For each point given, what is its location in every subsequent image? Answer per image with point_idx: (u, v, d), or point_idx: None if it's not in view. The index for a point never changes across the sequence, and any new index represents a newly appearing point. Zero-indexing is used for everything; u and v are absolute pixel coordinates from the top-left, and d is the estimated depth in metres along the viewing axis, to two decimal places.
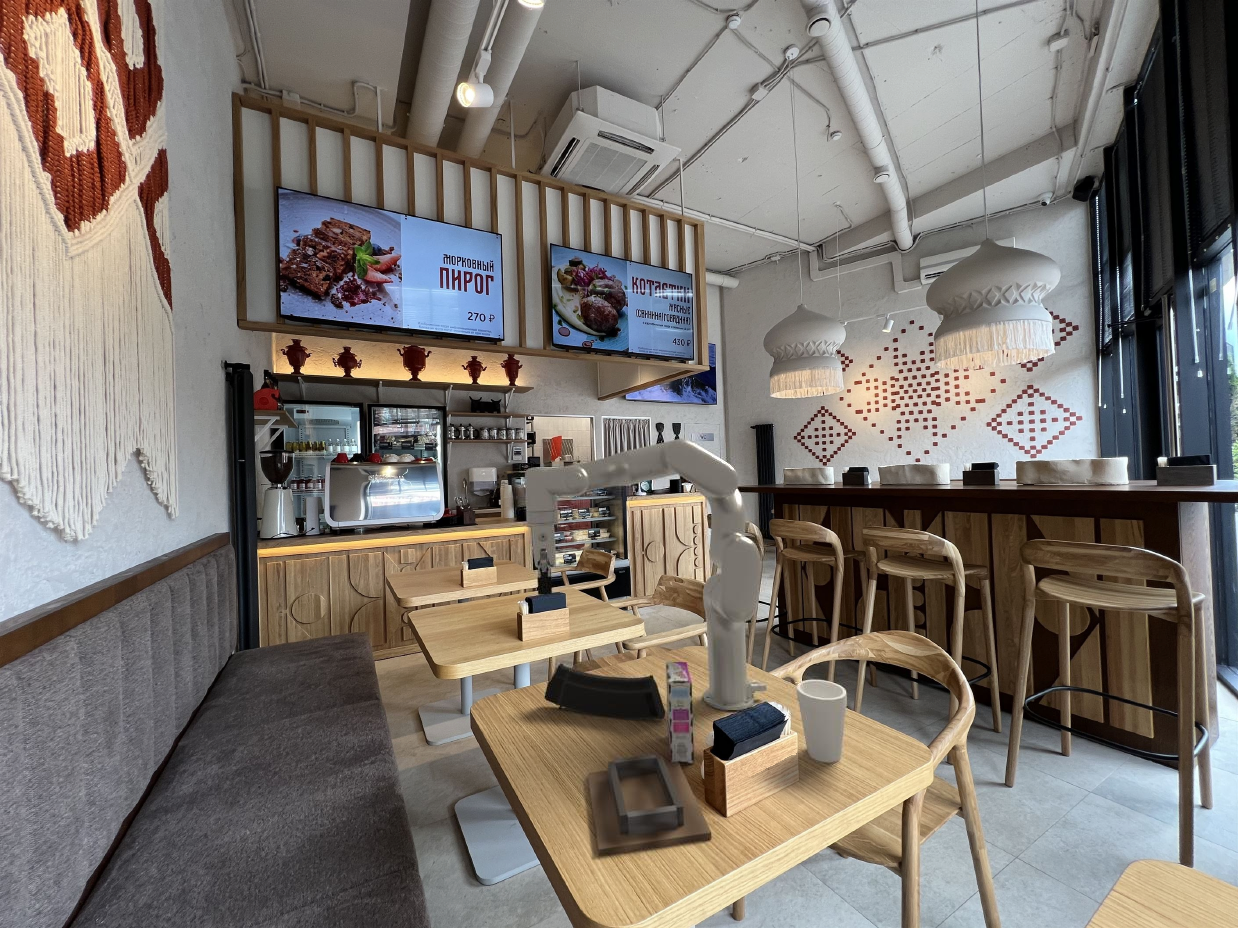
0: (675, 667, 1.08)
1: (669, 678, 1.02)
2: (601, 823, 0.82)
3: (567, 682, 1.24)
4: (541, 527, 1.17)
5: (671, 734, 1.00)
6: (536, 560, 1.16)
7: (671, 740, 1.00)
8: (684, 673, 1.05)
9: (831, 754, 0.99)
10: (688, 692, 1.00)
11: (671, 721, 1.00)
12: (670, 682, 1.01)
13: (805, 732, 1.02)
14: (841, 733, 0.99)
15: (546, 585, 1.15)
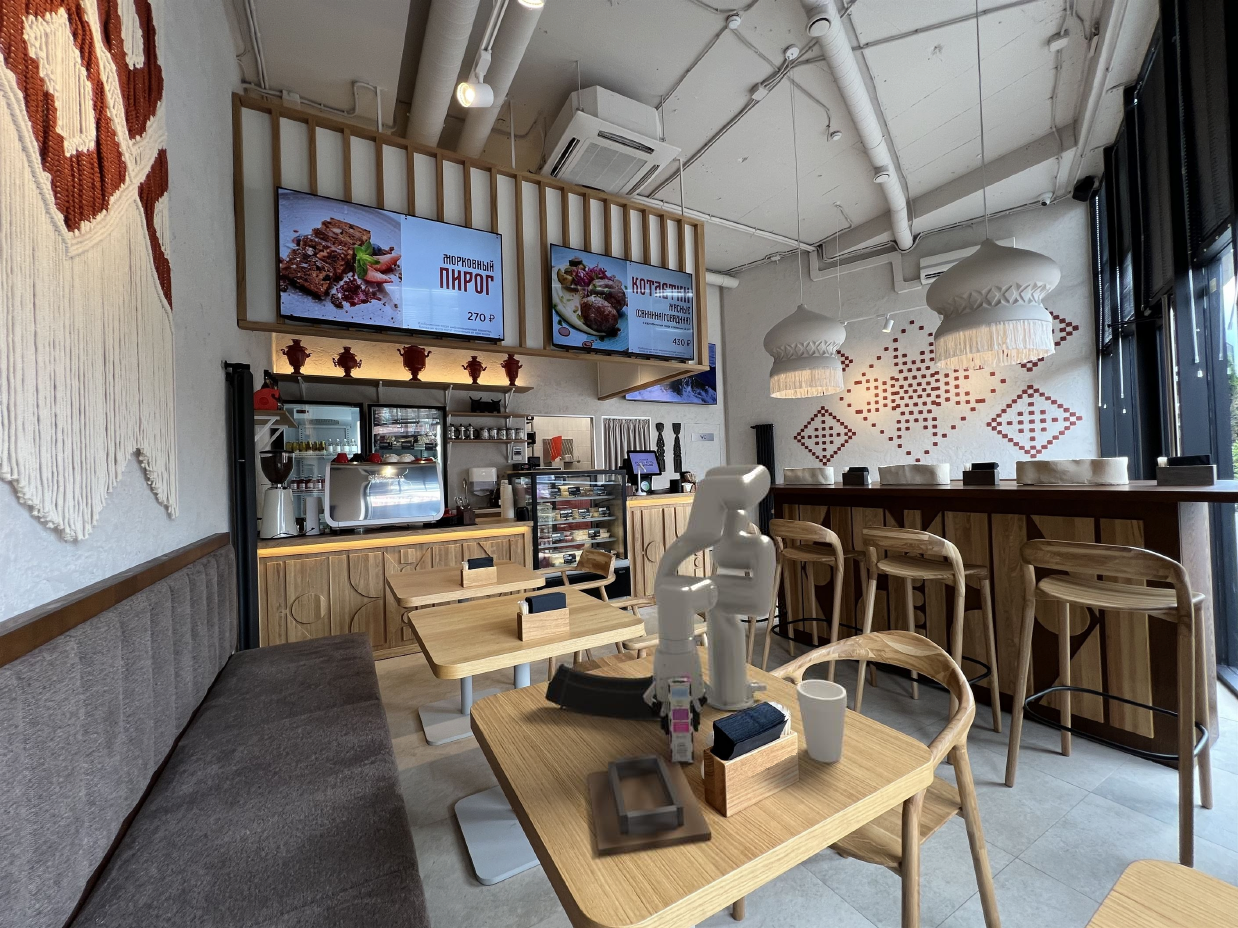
0: None
1: (668, 678, 1.02)
2: (601, 823, 0.82)
3: (568, 682, 1.24)
4: None
5: (671, 734, 1.00)
6: (703, 688, 1.04)
7: (671, 740, 1.00)
8: None
9: (831, 754, 0.99)
10: (688, 691, 1.00)
11: (671, 721, 1.00)
12: (669, 682, 1.01)
13: (805, 732, 1.02)
14: (841, 733, 0.99)
15: None
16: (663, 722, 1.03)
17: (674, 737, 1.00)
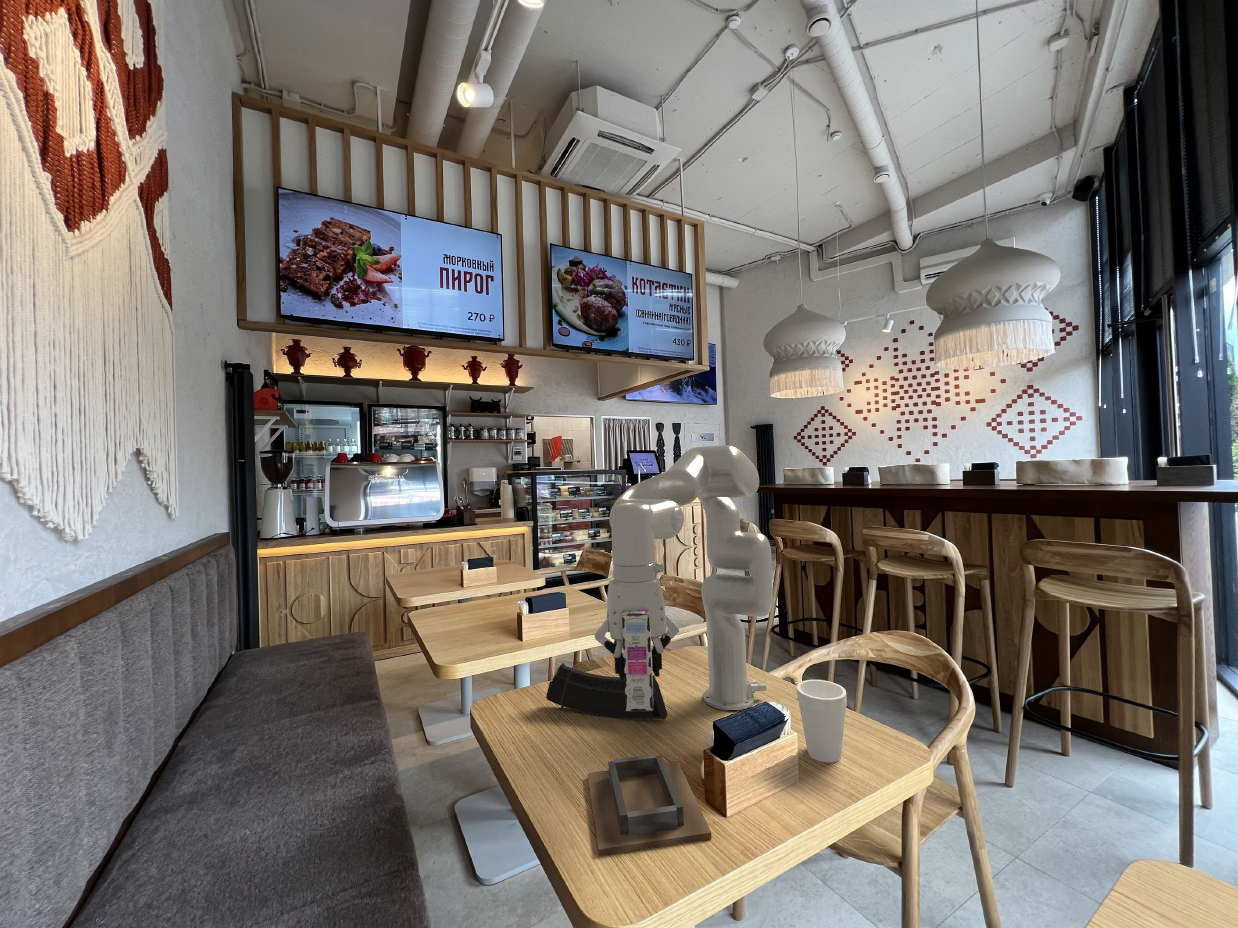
0: None
1: None
2: (601, 823, 0.82)
3: (569, 682, 1.24)
4: None
5: (625, 677, 0.84)
6: (665, 625, 0.88)
7: (626, 684, 0.84)
8: None
9: (831, 754, 0.99)
10: (646, 626, 0.84)
11: (625, 661, 0.84)
12: (624, 615, 0.84)
13: (805, 732, 1.02)
14: (841, 733, 0.99)
15: None
16: (618, 665, 0.87)
17: (629, 680, 0.84)
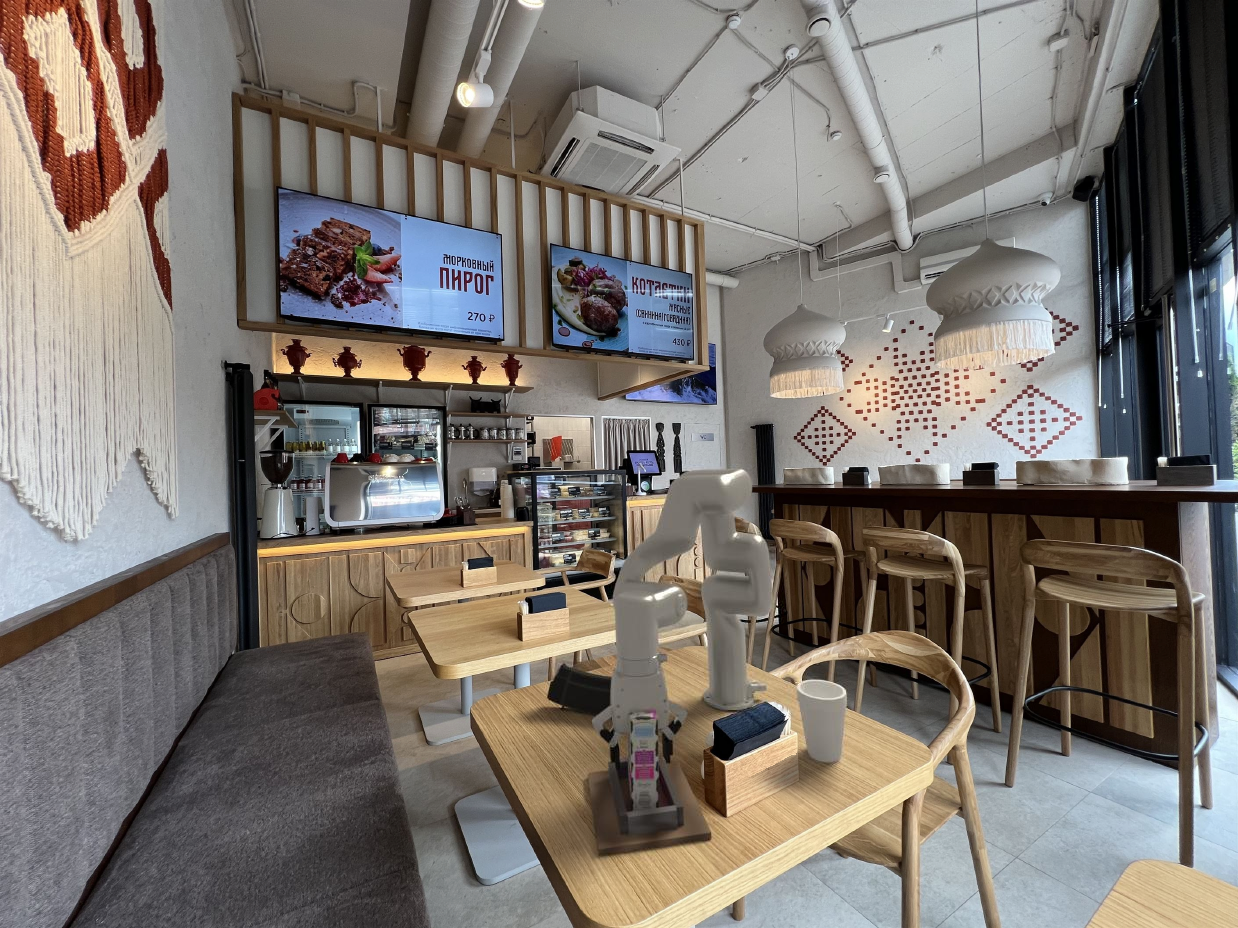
0: None
1: (631, 713, 0.86)
2: (601, 823, 0.82)
3: (569, 682, 1.24)
4: None
5: (632, 781, 0.84)
6: (669, 717, 0.88)
7: (632, 788, 0.84)
8: None
9: (831, 754, 0.99)
10: (654, 730, 0.84)
11: (633, 765, 0.84)
12: (632, 719, 0.84)
13: (805, 732, 1.02)
14: (841, 733, 0.99)
15: None
16: (613, 754, 0.87)
17: (636, 785, 0.84)
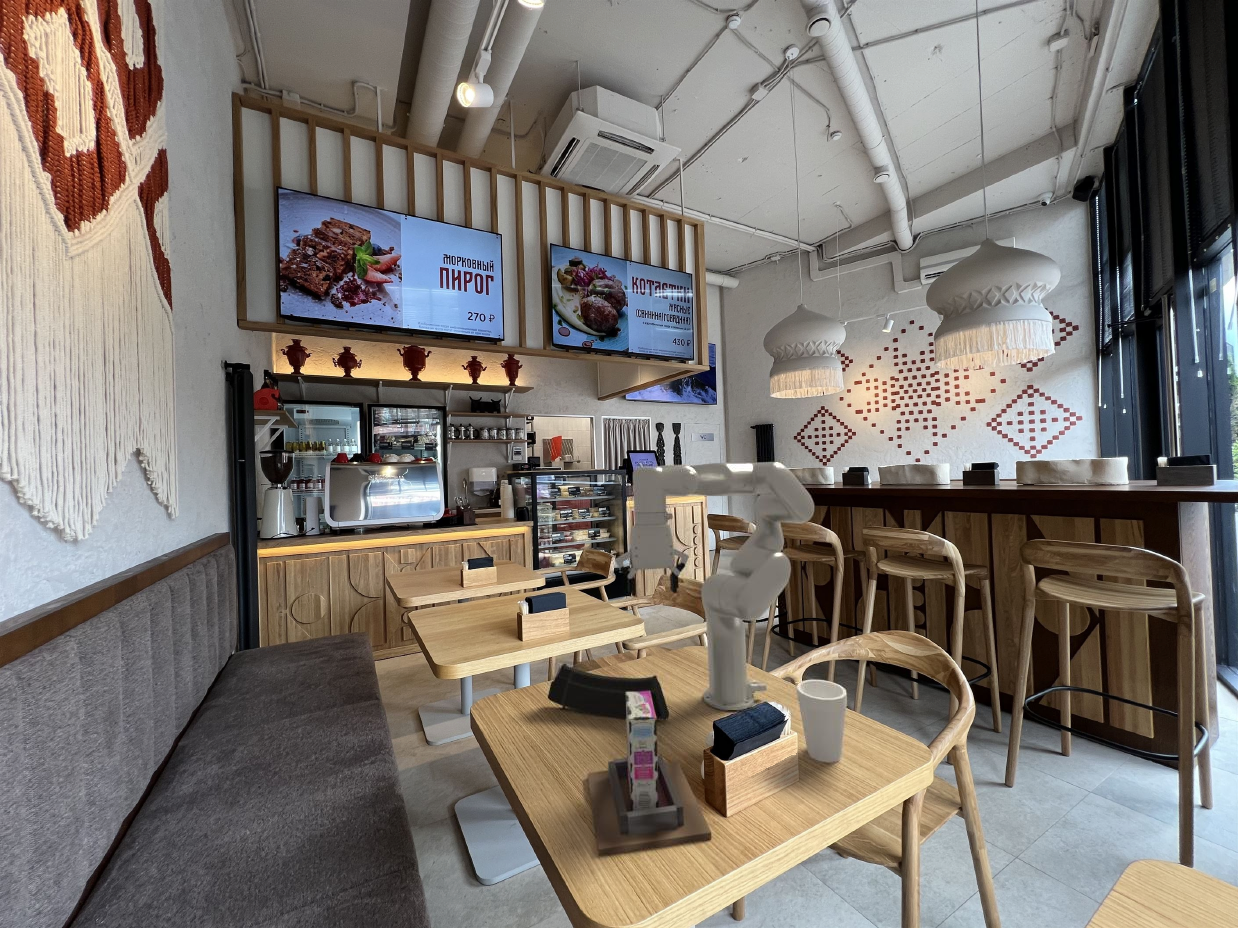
0: (636, 699, 0.91)
1: (629, 714, 0.86)
2: (601, 823, 0.82)
3: (570, 682, 1.24)
4: None
5: (632, 782, 0.84)
6: (674, 559, 1.16)
7: (632, 789, 0.84)
8: (647, 706, 0.88)
9: (831, 754, 0.99)
10: (652, 730, 0.84)
11: (632, 766, 0.84)
12: (631, 719, 0.84)
13: (805, 732, 1.02)
14: (841, 733, 0.99)
15: None
16: (630, 585, 1.15)
17: (635, 785, 0.84)
